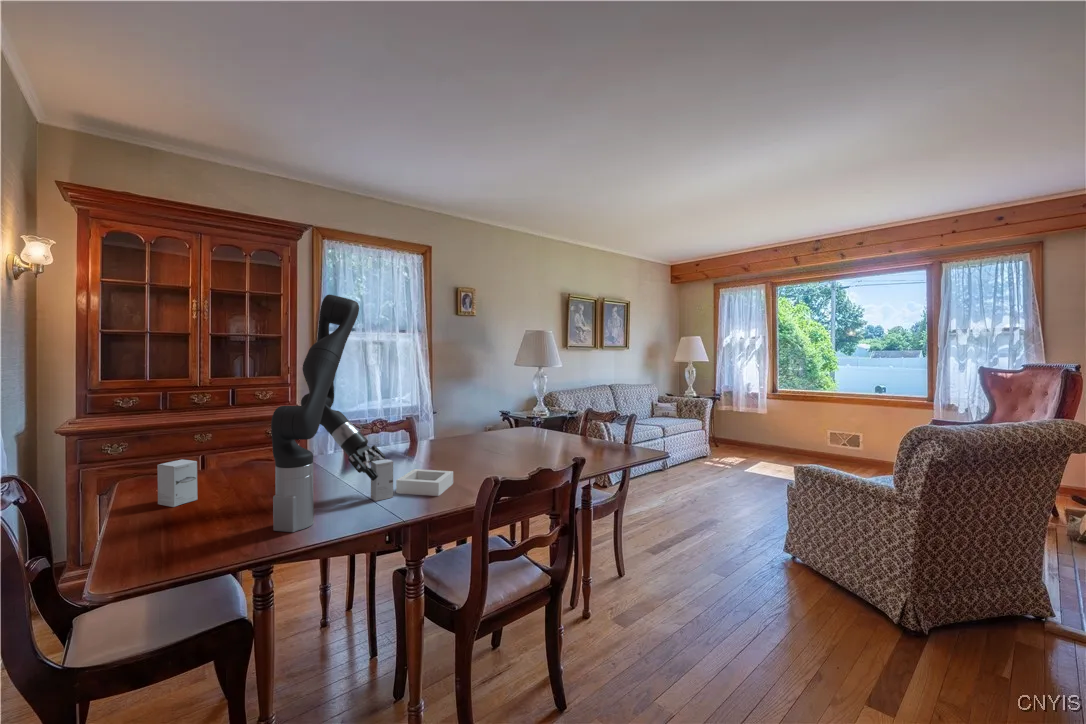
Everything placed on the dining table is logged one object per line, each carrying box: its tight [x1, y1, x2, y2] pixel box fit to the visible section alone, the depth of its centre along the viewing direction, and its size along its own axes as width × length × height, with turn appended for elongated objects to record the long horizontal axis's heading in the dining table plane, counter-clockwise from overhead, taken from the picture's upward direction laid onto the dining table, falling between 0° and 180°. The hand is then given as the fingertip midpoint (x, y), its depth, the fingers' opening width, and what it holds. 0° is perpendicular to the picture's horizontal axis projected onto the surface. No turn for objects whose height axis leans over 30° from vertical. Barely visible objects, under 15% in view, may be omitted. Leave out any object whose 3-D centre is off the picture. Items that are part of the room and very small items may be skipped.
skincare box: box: [370, 458, 394, 502], centre depth 152 cm, size 6×4×12 cm
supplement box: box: [156, 459, 198, 508], centre depth 146 cm, size 7×7×13 cm
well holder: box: [395, 468, 454, 497], centre depth 163 cm, size 14×15×4 cm
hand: (382, 474), depth 152 cm, fingers open, 8 cm apart
